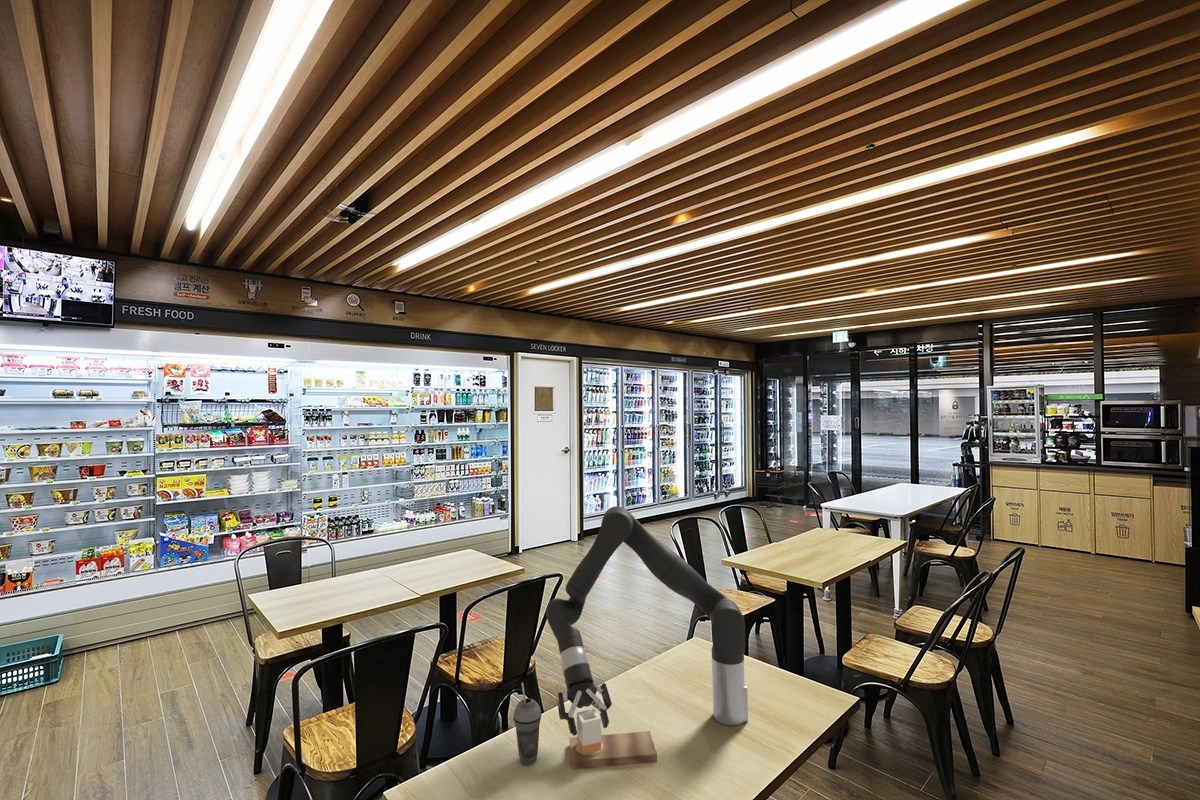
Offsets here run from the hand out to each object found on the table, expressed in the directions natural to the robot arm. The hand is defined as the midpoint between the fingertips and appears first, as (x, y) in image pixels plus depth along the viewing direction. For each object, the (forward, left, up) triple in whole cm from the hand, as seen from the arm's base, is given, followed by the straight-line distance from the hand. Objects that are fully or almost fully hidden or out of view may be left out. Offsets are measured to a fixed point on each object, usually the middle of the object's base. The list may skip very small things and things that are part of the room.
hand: (590, 730), depth 143 cm
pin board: (-6, -1, -7) cm, 9 cm away
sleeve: (0, -1, -5) cm, 5 cm away
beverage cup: (+16, -1, -7) cm, 18 cm away
